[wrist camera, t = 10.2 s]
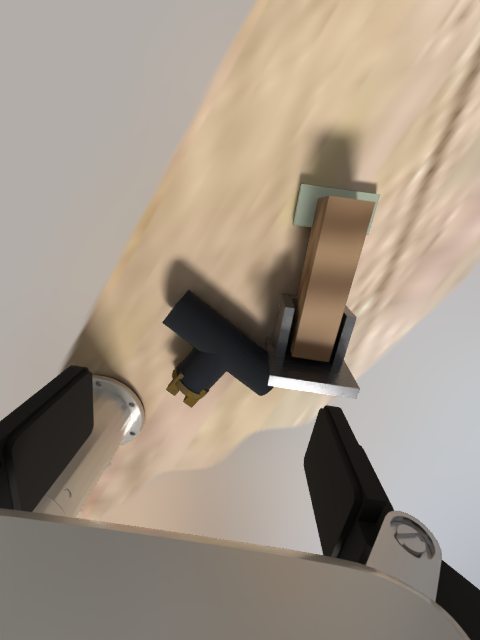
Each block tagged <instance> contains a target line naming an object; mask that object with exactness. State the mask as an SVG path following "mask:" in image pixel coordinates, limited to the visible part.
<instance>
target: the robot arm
mask: <svg viewBox="0 0 480 640" xmlns="http://www.w3.org/2000/svg"><path fill="white" fill-rule="evenodd" d="M144 420H145V414H144V409H143V406H142V404H141V402H140V400H139V399H138V397H137V396H136V394H135V393H134V392H133V391H132V390H131V389H130V388H128V387H127V386H126V385H124V384H123V383H121V382H119V381H117V380H115V379H112V378H109V377H105V376H100V375H92V373H91V372H89V370H88V368H86V367H80V366H70V367H68V368H67V369H66V370H65V371H63V372H62V373H61V374H59V375H58V376H57V377H56V378H54V379H53V380H52V381H51V382H49V383H48V384H47V385H46V386H44V387H43V388H42V389H41V390H39V391H38V392H37V393H36V394H34V395H33V396H32V397H30V398H29V399H28V400H27V401H25V402H24V403H23V404H22V405H20V406H19V407H18V408H17V409H15V410H14V411H13V412H11V413H10V414H9V415H8V416H7V417H5V418H4V419H3V420H1V421H0V640H480V590H479V589H478V588H477V587H475V586H474V585H473V584H471V583H470V582H469V581H468V580H467V579H465V578H464V577H463V576H462V575H460V574H459V573H458V572H457V571H455V570H454V569H453V568H451V567H450V566H449V565H448V564H447V563H445V562H444V561H443V560H442V553H441V549H440V546H439V544H438V541H437V540H436V539H435V537H434V535H433V534H432V533H431V532H430V530H428V528H427V527H426V526H425V525H424V524H423V523H421V522H420V521H419V520H418V519H416V518H415V517H413V516H411V515H409V514H407V513H404V512H401V511H394V509H393V507H392V505H391V503H390V501H389V499H388V497H387V495H386V493H385V491H384V489H383V487H382V485H381V483H380V481H379V479H378V477H377V475H376V473H375V471H374V469H373V467H372V465H371V463H370V461H369V459H368V457H367V455H366V453H365V451H364V449H363V448H362V446H360V445H359V444H358V442H357V440H356V438H355V436H354V434H353V432H352V430H351V428H350V426H349V424H348V422H347V420H346V417H345V415H344V414H343V412H342V410H341V408H339V407H334V406H327V405H326V406H325V407H324V409H323V408H320V410H319V412H318V416H317V419H316V422H315V425H314V428H313V432H312V435H311V438H310V441H309V444H308V448H307V451H306V454H305V457H304V469H305V474H306V478H307V483H308V487H309V492H310V496H311V500H312V506H313V510H314V515H315V519H316V523H317V528H318V533H319V537H320V542H321V546H322V551H323V555H318V554H312V553H306V552H300V551H295V550H289V549H283V548H276V547H269V546H263V545H256V544H250V543H244V542H237V541H230V540H224V539H217V538H211V537H204V536H197V535H191V534H184V533H177V532H170V531H163V530H156V529H149V528H143V527H136V526H129V525H122V524H114V523H108V522H101V521H94V520H87V519H79V518H76V517H77V515H78V513H79V512H80V510H81V508H82V507H83V505H84V503H85V502H86V500H87V498H88V497H89V495H90V493H91V492H92V490H93V489H94V487H95V485H96V484H97V482H98V480H99V479H100V477H101V475H102V474H103V472H104V470H105V469H106V468H107V467H109V466H110V465H111V459H112V457H113V456H114V454H115V452H116V451H117V449H118V447H119V446H120V445H123V444H126V443H128V442H130V441H132V440H133V439H134V438H135V437H136V436H137V435H138V434H139V432H140V431H141V429H142V427H143V424H144Z"/></svg>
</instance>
